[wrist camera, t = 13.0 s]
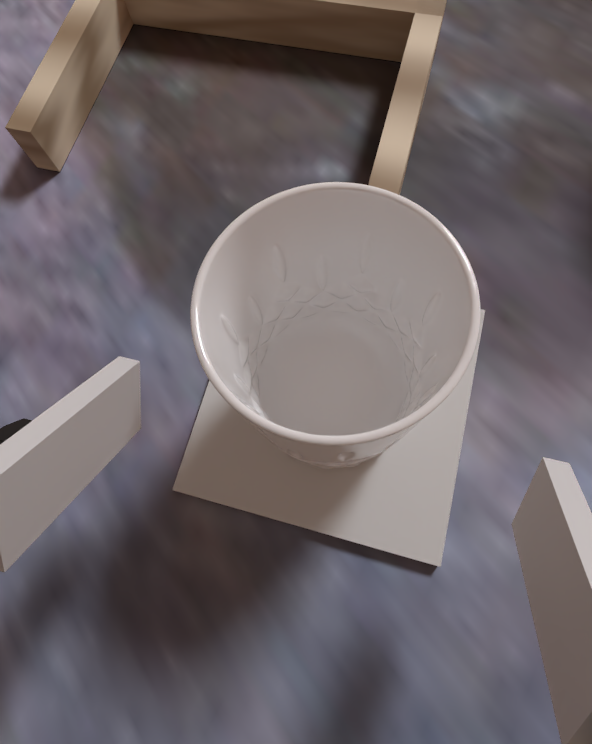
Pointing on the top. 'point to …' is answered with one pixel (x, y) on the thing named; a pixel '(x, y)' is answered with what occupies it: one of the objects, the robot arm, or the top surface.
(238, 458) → the mat
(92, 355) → the top surface
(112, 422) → the robot arm
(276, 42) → the frame
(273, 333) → the white cup
